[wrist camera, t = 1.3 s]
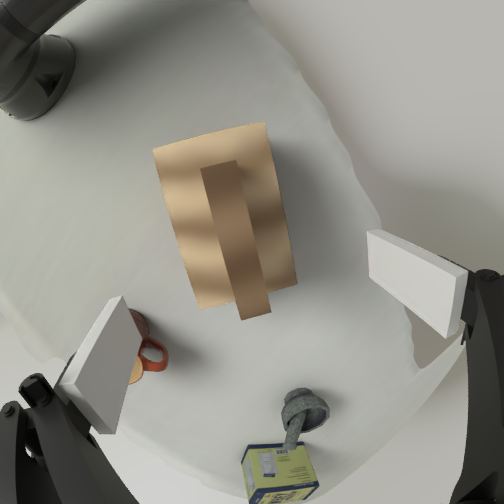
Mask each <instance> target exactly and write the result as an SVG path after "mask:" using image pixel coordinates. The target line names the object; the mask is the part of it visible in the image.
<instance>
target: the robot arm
mask: <svg viewBox="0 0 504 504" xmlns="http://www.w3.org/2000/svg"><path fill="white" fill-rule="evenodd" d="M85 1H86V0H0V108H1V109H2V110H4V111H5V113H6V114H7V115H9V116H10V117H12V118H14V119H18V120H32V119H35V118H37V117H39V116H41V115H42V114H44V113H45V112H46V111H48V110H49V109H50V108H51V107H52V106H53V105H54V104H55V103H56V102H57V100H58V99H59V98H60V96H61V95H62V94H63V92H64V90H65V89H66V87H67V85H68V83H69V81H70V78H71V76H72V73H73V69H74V64H75V54H74V50H73V47H72V46H71V44H70V43H69V42H68V41H66V40H65V39H64V38H62V37H60V36H58V35H45V34H44V33H45V32H46V31H47V30H49V29H50V28H51V27H52V26H53V25H54V24H56V23H57V22H58V21H59V20H61V19H62V18H63V17H64V16H66V15H67V14H68V13H69V12H71V11H72V10H73V9H75V8H76V7H78V6H79V5H80V4H82V3H83V2H85ZM366 233H367V246H368V261H369V278H371V279H372V280H373V281H375V282H376V283H377V284H378V285H380V286H381V287H382V288H384V289H385V290H386V291H388V292H389V293H390V294H391V295H393V296H394V297H395V298H397V299H398V300H399V301H400V302H402V303H403V304H404V305H405V306H407V307H408V308H409V309H410V310H412V311H413V312H414V313H415V314H417V315H418V316H419V317H420V318H422V319H423V320H424V321H425V322H426V323H428V324H429V325H430V326H431V327H432V328H434V329H435V330H436V331H437V332H439V333H440V334H441V335H442V336H443V337H444V338H445V339H446V338H448V337H450V336H451V335H453V334H454V333H456V332H458V328H459V324H460V319H462V320H463V321H464V322H466V324H465V329H464V333H463V337H462V340H461V345H463V343H464V341H466V351H467V364H468V398H469V400H468V402H469V403H468V405H469V406H468V425H467V438H466V448H465V455H464V463H463V469H462V473H461V476H460V478H459V480H458V482H457V484H456V486H455V488H454V491H453V493H452V496H451V500H450V503H449V504H504V275H502V276H501V275H500V274H499V273H497V272H496V271H493V270H489V269H482V270H479V271H477V272H476V273H474V272H472V271H470V270H468V269H466V268H464V267H462V266H460V265H459V264H455V263H454V262H453V261H449V260H448V259H446V258H445V257H442V256H439V255H435V254H433V253H431V252H429V251H427V250H425V249H423V248H420V247H419V246H416V245H414V244H412V243H410V242H407V241H406V240H403V239H401V238H399V237H397V236H394V235H392V234H390V233H387V232H385V231H383V230H381V229H378V228H377V229H373V230H370V231H366ZM141 341H142V337H141V335H140V333H139V331H138V329H137V327H136V325H135V322H134V320H133V318H132V316H131V314H130V312H129V309H128V307H127V305H126V303H125V300H124V298H123V296H118V297H114V298H110V300H109V301H108V303H107V304H106V306H105V307H104V309H103V310H102V312H101V313H100V315H99V316H98V318H97V320H96V321H95V323H94V324H93V326H92V327H91V329H90V331H89V332H88V334H87V336H86V337H85V339H84V341H83V342H82V344H81V346H80V347H79V349H78V351H77V352H76V353H75V354H74V355H73V356H72V357H71V358H70V359H69V361H68V363H67V366H66V367H65V368H64V370H63V372H62V374H61V375H60V377H59V379H58V381H57V383H56V384H55V386H54V388H53V389H52V387H51V386H50V385H49V383H48V382H47V380H46V379H45V377H44V376H43V375H42V374H40V373H35V374H33V375H30V376H29V377H27V378H26V379H25V380H24V381H23V382H22V383H21V385H20V387H19V393H20V394H21V396H22V397H23V398H24V399H25V401H26V402H27V403H28V404H29V406H30V407H31V408H27V409H23V408H22V407H21V405H20V404H19V403H18V402H17V401H10V402H9V403H6V404H5V405H4V406H3V408H2V409H1V411H0V504H139V503H138V501H137V500H136V499H135V498H134V496H133V495H132V494H131V492H130V491H129V490H128V488H127V487H126V486H125V484H124V483H123V482H122V481H121V479H120V477H119V476H118V475H117V474H116V472H115V470H114V469H113V467H112V466H111V464H110V463H109V461H108V460H107V458H106V456H105V455H104V453H103V452H102V450H101V448H100V447H99V445H98V443H97V442H96V440H95V438H94V437H93V436H92V435H91V434H90V433H89V430H90V427H91V425H92V426H93V427H94V429H95V430H96V431H97V432H98V433H99V434H115V433H116V429H117V425H118V421H119V417H120V413H121V409H122V405H123V402H124V398H125V394H126V391H127V387H128V384H129V380H130V377H131V373H132V370H133V367H134V364H135V360H136V357H137V354H138V351H139V348H140V345H141ZM25 447H26V448H27V449H28V450H29V451H30V452H31V457H30V456H29V455H28V454H27V452H26V448H25Z"/></svg>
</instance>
